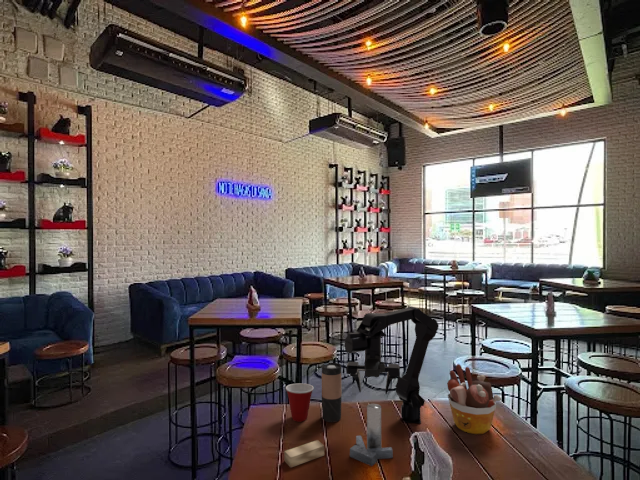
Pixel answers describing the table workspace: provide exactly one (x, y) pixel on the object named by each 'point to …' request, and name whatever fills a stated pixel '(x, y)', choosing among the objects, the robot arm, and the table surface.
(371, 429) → the grey metallic cylinder
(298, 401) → the plastic cup
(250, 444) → the table surface
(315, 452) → the beam
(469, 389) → the bucket of meat
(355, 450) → the grey flat branched piece
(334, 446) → the table surface
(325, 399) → the travel mug
